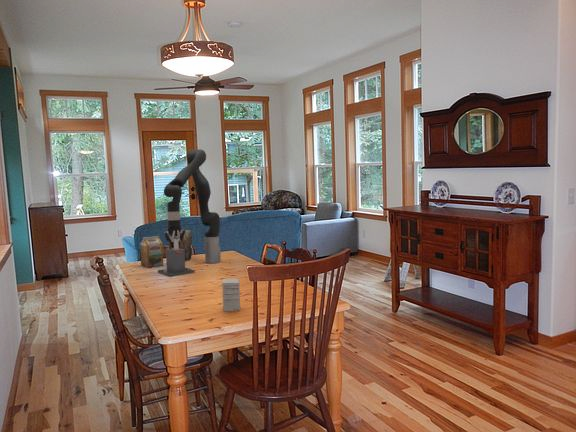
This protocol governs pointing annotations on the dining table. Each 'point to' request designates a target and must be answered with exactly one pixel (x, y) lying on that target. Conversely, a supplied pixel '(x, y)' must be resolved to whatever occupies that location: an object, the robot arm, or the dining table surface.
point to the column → (175, 244)
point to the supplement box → (231, 294)
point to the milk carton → (151, 252)
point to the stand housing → (175, 263)
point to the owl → (186, 244)
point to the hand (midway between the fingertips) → (175, 247)
